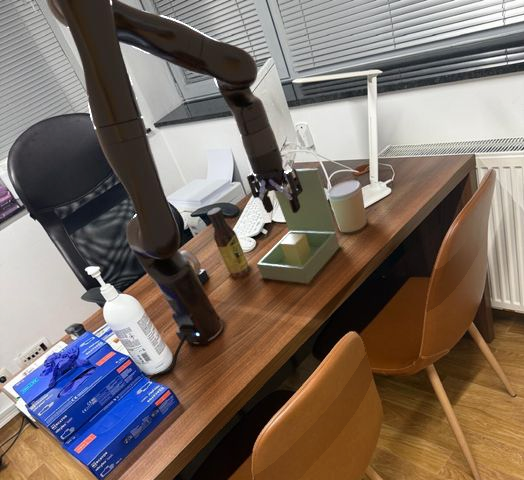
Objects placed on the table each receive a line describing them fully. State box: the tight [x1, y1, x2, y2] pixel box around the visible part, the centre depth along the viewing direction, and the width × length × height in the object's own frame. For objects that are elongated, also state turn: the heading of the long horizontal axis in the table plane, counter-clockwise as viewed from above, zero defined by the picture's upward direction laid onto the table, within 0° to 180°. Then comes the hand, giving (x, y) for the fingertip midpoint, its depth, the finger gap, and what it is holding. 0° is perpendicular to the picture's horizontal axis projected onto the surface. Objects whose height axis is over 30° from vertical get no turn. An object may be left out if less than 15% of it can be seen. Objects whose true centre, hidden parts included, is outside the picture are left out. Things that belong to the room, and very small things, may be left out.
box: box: [256, 230, 340, 284], centre depth 123 cm, size 17×16×5 cm
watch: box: [179, 249, 210, 286], centre depth 134 cm, size 6×8×11 cm
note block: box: [280, 233, 312, 267], centre depth 122 cm, size 5×5×8 cm
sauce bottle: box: [207, 207, 250, 278], centre depth 127 cm, size 7×6×20 cm
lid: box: [274, 167, 337, 232], centre depth 121 cm, size 17×16×5 cm
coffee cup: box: [327, 179, 367, 233], centre depth 126 cm, size 9×9×12 cm
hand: (283, 211), depth 115 cm, fingers open, 8 cm apart
